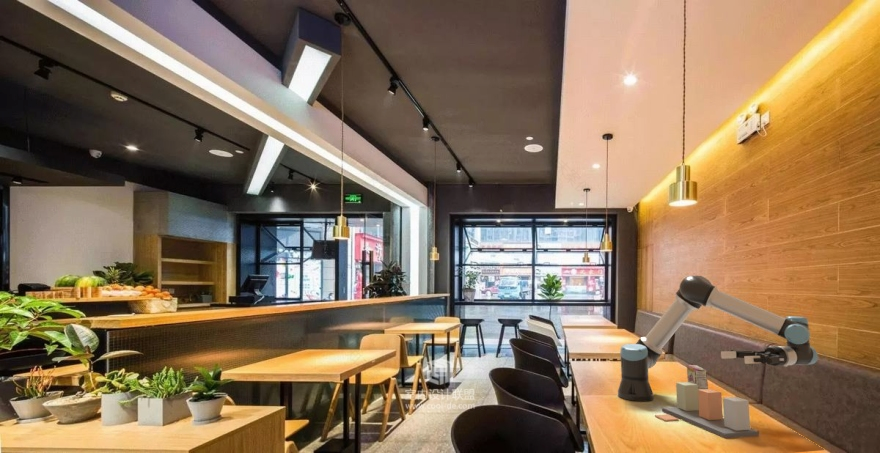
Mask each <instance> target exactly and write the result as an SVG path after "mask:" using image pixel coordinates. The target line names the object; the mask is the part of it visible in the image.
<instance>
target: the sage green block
mask: <svg viewBox="0 0 880 453" xmlns="http://www.w3.org/2000/svg"><path fill="white" fill-rule="evenodd" d="M675 386H676V390H675V391H676V407H677V408H680V409H682V410H685V411H694V410H699V403H698V385H696V384H693V383H690V382H688V381H685V382H684V381H682V382H675Z"/></svg>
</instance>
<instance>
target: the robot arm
mask: <svg viewBox="0 0 880 453" xmlns="http://www.w3.org/2000/svg"><path fill="white" fill-rule="evenodd" d="M702 306H704V307H707V308H708V307H711V308H713V309H716V310H719V311H721V312H723V313H726V314H727V315H730V316H733V317H735V318H737V319H739V320H742V321H744V322H746V323H749V324H750V325H753V326H756V327H758V328H760V329H762V330H764V331H767V332H770V333H772V334H774V335H776V336H778V337H780V338H782V339H785V340H786V346H783V345H781V346H780V345H779V346H768V347H766V348H765V349H764V350H740V349H739V350H735V349H731V350H730V351H728V350H727V351H725V350H724V351H721V352H720V357H721V359H726V360H727V359H728V360H729V359H733V360H736V359H739V358H740V359H744V364H746V365H749V364H751V365H752V364H753V365H755V364H763V365H764V364H767V365H770V366H773V367H781V366H783V367H785V368H788V366H809V365H814V364H815V363H816V362H817V361H818V358H819V354H818V353H817V350H816V349H815V348H814V347H812V346H811V343H810V336H811V333H810V332H811V331H810V330H809V329H810V328H809V325H810V324H809V320H808V318H807V317H805V316H795V315H794V316H792V315H791V316H788V315H787V316H785V317H783V316H781V315H778V314H776V313H774V312H771V311H769V310H766V309H764V308H762V307H759V306H757V305H754V304H752V303H750V302H747V301H745V300H743V299H740V298H738V297H736V296H733V295H731V294H728V293H726V292H723V291H721V290H719V289H718V288H717V286H715V285H712V283H711V281H710V280H709V279H707V278H706V277H704V276H702V275H689V276H686V277H685V278H683V279H682V280H681V281H680V283H679V288H678V290H677V291H676V292H675V299H674V301H673V302H672V303H671V304H670V305H669V307H668V308H667V309H666V311H665V312H664V313H663V314H662V316H661V317H660V318H659V320H658V321H657V322H656V323H655V324H654V326H653V327H652V328H651V329H650V331H649V332H648V333H647V334H646V336H641V337H639V339H638V340H637V341H636V342H635V343H627V344H623V345H621V347H620V352H619V355H620V371H621V377H620V378H621V379H620V383H619V386H618V390H617V396H618V397H619V398H621V399H624V400H627V401H628V400H629V401H633V402H634V401H636V402H650V401H653V400H654V392H653V390H652V387H651V385H650V382H649V380H650V379H649V369H651V368H653V367H654V366H655V365H656V363H657V362H658V359H659V358H660V357H661V356H662V354H663V350H662V349H663V347H665V345H666V344H667V343H668V342H669V340H671V338H672V336H673V335H674V334H675V333H676V332H677V331H678V329H679V328H680V327H681V326H682V325H683V323H684V322H685V321H686V319H687V318H688V317H689V316H690V314H691V313H692V312H693V311H694V310H699V309H700V308H701V307H702Z"/></svg>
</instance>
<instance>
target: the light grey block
mask: <svg viewBox="0 0 880 453" xmlns="http://www.w3.org/2000/svg"><path fill="white" fill-rule="evenodd" d="M749 404H750V402H749V400H748V399H744V398H741V397H738V396H728V397H722V410H723V418H724V426H725V427H728V428H730V429H733V430H736V431H739V430H750V428H751V420H750V405H749Z"/></svg>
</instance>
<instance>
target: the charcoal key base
mask: <svg viewBox="0 0 880 453" xmlns="http://www.w3.org/2000/svg"><path fill="white" fill-rule="evenodd" d="M661 410H662V411H661V412H663V413H664V414H665V413H666V414H668V415H671V416H673V417H675V418H678V419H679V420H681V419H682V421H683V422H686V423H688V422H689V423H688V424H691V425H693V426H695V425H696V427H697V428H701V429H702V428H703V430H704V431H705V430H706V431H707V432H710V433H712V434H715V435H717V436H719V437H722V438H724V439H731V438H733V439H734V438H747V437H759V436H760V431H759V430H756V429H753V428H751V427H750V430H739V431H736V430H733V429H730V428H728V427H725V426H724V417H723V419H720V420H708V419H705V418H703V417H700V416H699V410H694V411H685V410H682V409H680V408H677V406H670V407H669V406H667V407H662V408H661Z"/></svg>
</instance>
